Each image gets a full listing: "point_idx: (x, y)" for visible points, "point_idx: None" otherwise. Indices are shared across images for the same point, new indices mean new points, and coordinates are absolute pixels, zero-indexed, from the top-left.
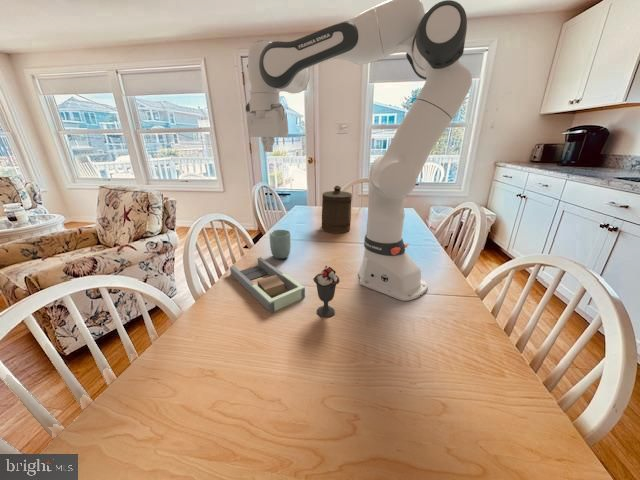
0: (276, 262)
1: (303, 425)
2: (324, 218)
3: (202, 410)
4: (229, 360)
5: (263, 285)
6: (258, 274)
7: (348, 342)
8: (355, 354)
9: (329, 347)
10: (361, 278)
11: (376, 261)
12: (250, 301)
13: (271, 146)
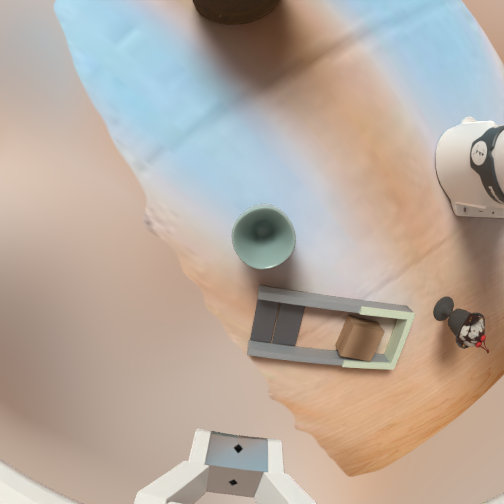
0: None
1: (465, 395)
2: (218, 4)
3: (406, 434)
4: (394, 413)
5: (360, 357)
6: (293, 316)
7: None
8: None
9: None
10: (456, 205)
11: (498, 206)
12: None
13: (281, 480)
